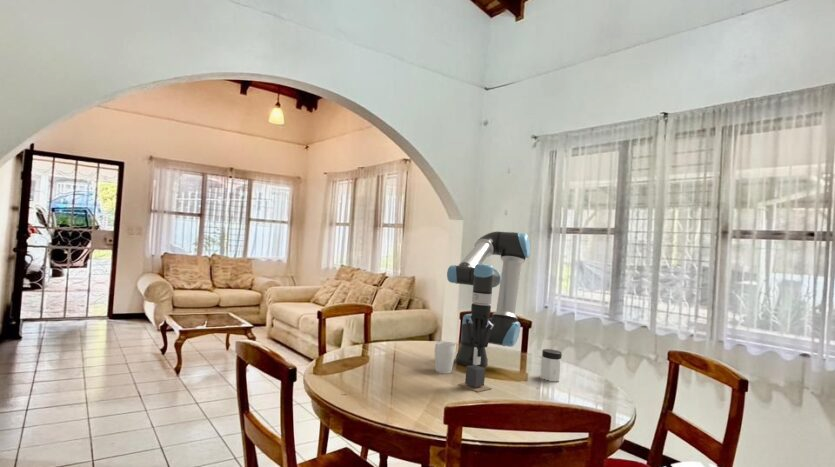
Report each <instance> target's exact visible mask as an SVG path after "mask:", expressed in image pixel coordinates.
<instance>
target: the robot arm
mask: <svg viewBox="0 0 835 467" xmlns="http://www.w3.org/2000/svg"><path fill="white" fill-rule="evenodd" d="M530 254H531V245H530V238H529V236H528V234H526V233H525V232H523V233H522V232H512V231H498V230H497V231H492V232H488V233H487V234H485V235H482V236H480V238H478V239H477V240H476V242H475V243H474V246H473V248H472V249H470V251H469V253H468V254H466V256H465V257H464V258H463V260H462V261H460V263H459V264H458V265H454V264H453V265H449V267H448V268H447V272H446V277H447V280H448V282H449V283H451V284H456V285H468V286H472V294H471V295H472V297H471V302H472V304H471V306H470V308H471V309H470V312H471V313H466V314H464V315H463V317H462V323H461V332H460V333H461V335H460V337H461V338H460V345H459V348H458V350H457V352H456V353H457V354H455V362H456V364H457V363H458V364H459V365H463V366H466V367H467V366H472V365H477V366H480V367H483V368H484V367H486V366H488V362H489V359H488V356H487V350H486V348H488V346H489V344H492V345H497V346H502V347H510V348H511V347H514V346H515V345H516V343H517V342H518V339H519V337H520V332H521V323H520V322H519V321H518V317H517V315H516V308H517V307H516V306H517V299H518V294H519V293H518V292H519V291H518V290H519V284H520V276H521V269H522V264H524V263H525V262H526V259H528V258H530ZM494 255H495V256H500V260H501V261H502V267H501V269H502V270H501V272H500V271H499V270H498V269H495V268H494V265H491V264H484V262H485V261H486V259H487V258H489V257H491V256H494ZM497 286H499V291H498V297H497V303H496V310H495V312H493V313H492V316H491V317H490V315H491V308H492V306H491V304H492V296H493V288H496V287H497Z"/></svg>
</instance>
